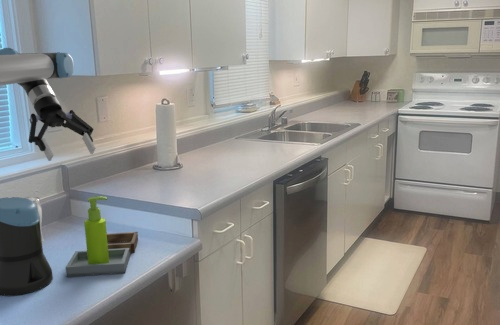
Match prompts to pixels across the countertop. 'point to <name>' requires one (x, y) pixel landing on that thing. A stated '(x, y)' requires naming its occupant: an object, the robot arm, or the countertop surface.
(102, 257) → the soap dispenser
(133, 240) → the holder collar
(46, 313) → the countertop surface
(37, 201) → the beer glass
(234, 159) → the countertop surface
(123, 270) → the tray
